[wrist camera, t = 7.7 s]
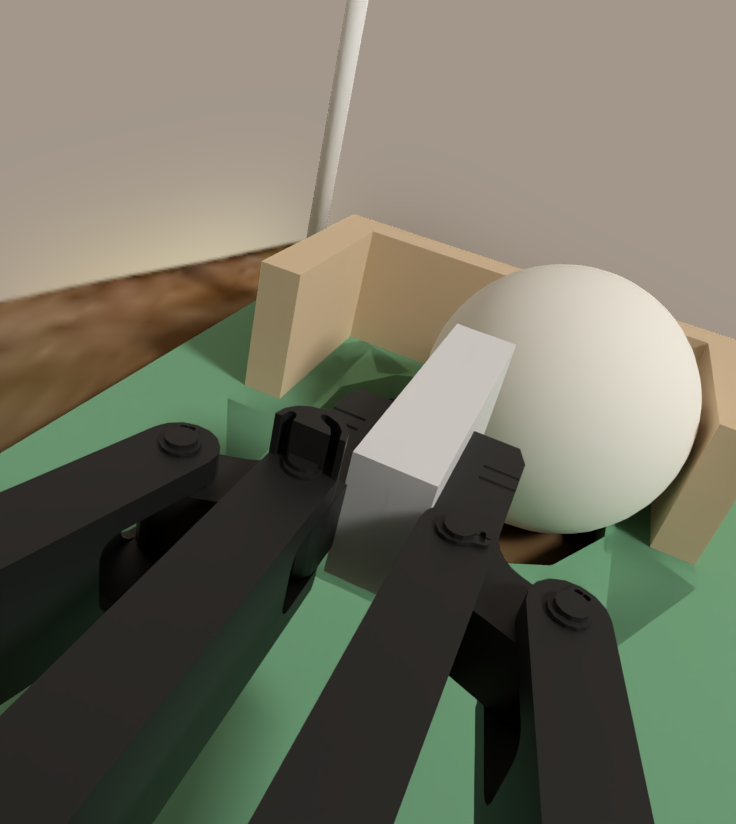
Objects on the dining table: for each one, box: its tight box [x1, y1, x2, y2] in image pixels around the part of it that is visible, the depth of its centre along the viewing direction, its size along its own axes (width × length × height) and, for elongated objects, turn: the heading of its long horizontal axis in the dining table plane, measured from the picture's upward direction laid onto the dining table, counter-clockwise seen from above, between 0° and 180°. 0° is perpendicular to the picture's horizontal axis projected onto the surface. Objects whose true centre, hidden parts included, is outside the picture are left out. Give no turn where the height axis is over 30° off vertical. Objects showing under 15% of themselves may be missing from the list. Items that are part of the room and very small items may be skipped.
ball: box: [428, 264, 702, 534], centre depth 24 cm, size 9×9×9 cm
